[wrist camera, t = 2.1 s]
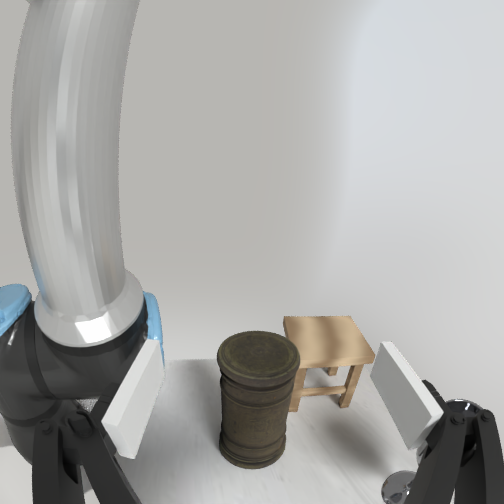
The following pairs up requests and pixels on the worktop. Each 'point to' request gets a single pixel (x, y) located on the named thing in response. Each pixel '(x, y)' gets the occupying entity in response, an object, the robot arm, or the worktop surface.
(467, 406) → the wine glass
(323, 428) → the worktop surface
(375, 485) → the worktop surface
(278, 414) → the container
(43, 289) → the robot arm
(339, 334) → the stool
